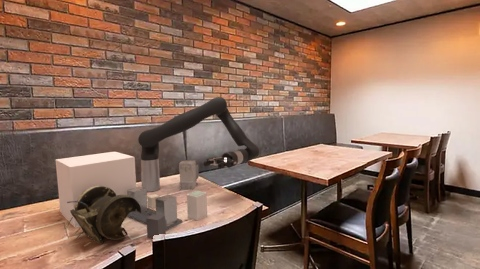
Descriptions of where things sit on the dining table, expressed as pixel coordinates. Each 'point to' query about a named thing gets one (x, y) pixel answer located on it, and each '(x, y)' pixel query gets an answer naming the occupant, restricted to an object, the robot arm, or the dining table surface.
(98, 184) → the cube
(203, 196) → the block
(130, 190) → the rail
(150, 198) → the beige rectangular block
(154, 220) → the relay
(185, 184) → the circuit breaker
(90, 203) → the bench grinder
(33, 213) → the dining table surface
